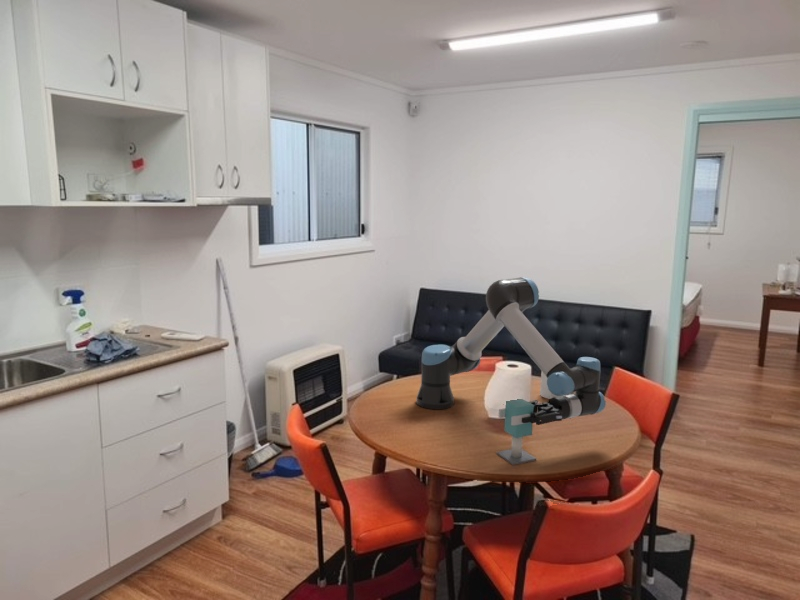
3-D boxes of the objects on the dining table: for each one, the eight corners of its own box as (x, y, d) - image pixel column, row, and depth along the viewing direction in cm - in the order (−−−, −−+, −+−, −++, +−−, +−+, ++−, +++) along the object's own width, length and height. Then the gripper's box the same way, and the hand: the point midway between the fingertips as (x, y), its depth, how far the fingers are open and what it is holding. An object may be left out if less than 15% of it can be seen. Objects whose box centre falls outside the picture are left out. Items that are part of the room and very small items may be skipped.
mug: (544, 388, 253) (545, 365, 251) (567, 391, 249) (569, 368, 247) (537, 397, 241) (539, 372, 239) (562, 400, 237) (563, 376, 235)
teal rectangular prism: (515, 437, 178) (517, 407, 176) (504, 430, 183) (505, 401, 182) (532, 434, 180) (533, 404, 179) (520, 428, 186) (521, 398, 184)
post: (512, 465, 177) (514, 442, 176) (496, 453, 185) (497, 431, 184) (536, 460, 181) (537, 437, 180) (519, 449, 189) (520, 427, 188)
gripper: (583, 428, 180) (523, 439, 171) (544, 408, 197) (488, 418, 188) (584, 405, 179) (524, 416, 169) (545, 388, 196) (489, 396, 187)
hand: (505, 417), depth 179 cm, fingers closed on teal rectangular prism, 6 cm apart
